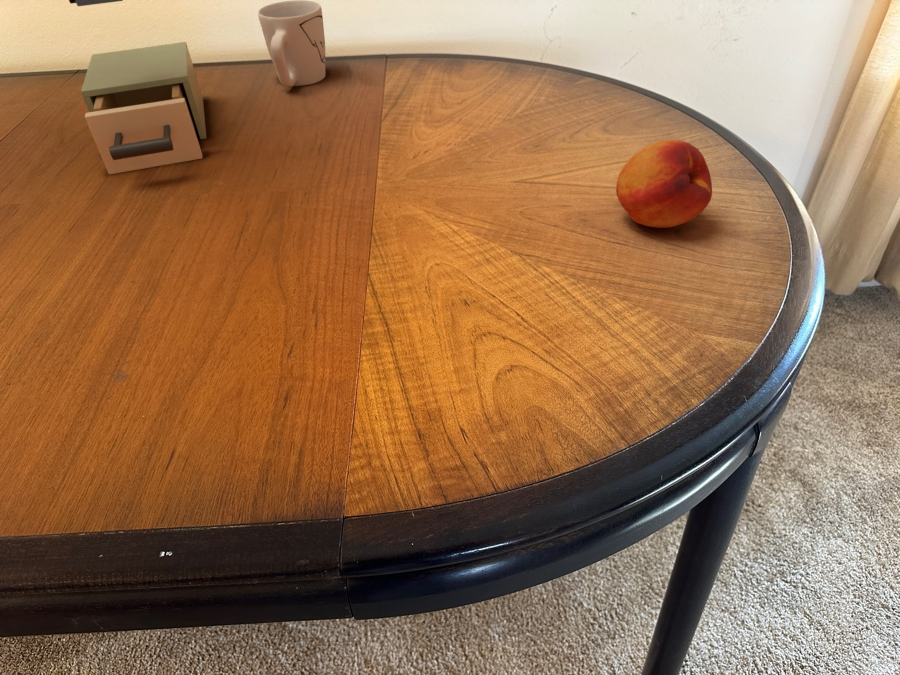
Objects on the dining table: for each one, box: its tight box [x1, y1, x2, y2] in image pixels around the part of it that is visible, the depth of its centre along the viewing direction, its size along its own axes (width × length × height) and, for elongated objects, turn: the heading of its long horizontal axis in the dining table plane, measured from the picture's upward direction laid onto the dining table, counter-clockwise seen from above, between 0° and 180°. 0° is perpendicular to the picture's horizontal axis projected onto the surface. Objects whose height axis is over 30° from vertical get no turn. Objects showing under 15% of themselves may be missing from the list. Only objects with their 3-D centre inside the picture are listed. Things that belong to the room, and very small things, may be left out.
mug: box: [257, 0, 326, 88], centre depth 89 cm, size 11×8×10 cm
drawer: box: [84, 83, 203, 175], centre depth 74 cm, size 18×10×7 cm, turn 18°
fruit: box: [615, 139, 713, 229], centre depth 59 cm, size 8×8×8 cm
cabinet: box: [80, 41, 207, 140], centre depth 80 cm, size 13×11×8 cm
